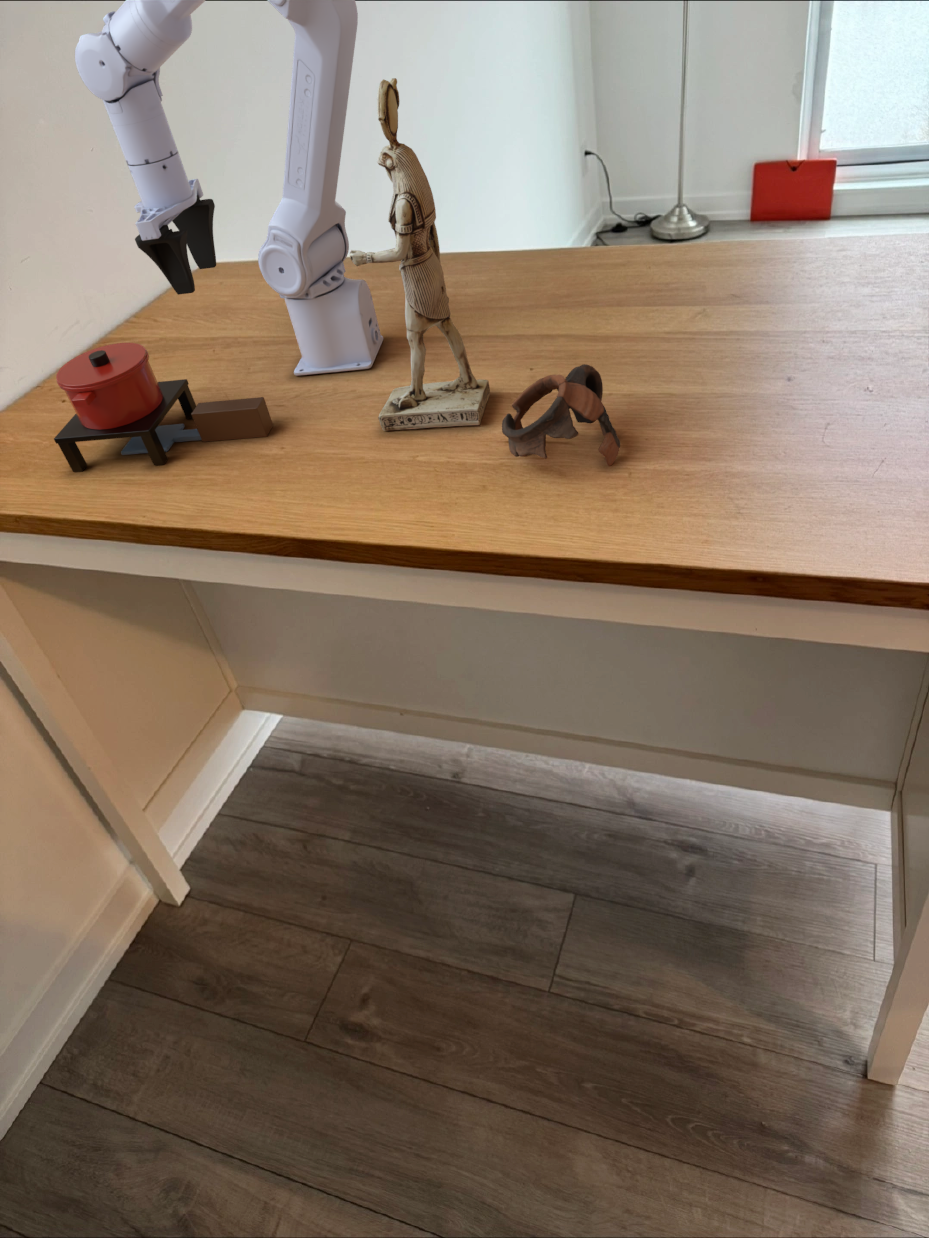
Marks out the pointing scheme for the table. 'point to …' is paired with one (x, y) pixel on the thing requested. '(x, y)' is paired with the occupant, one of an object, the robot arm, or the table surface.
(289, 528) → the table surface
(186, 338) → the table surface
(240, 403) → the spatula
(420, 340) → the statue
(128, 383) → the pot
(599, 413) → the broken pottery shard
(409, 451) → the table surface
